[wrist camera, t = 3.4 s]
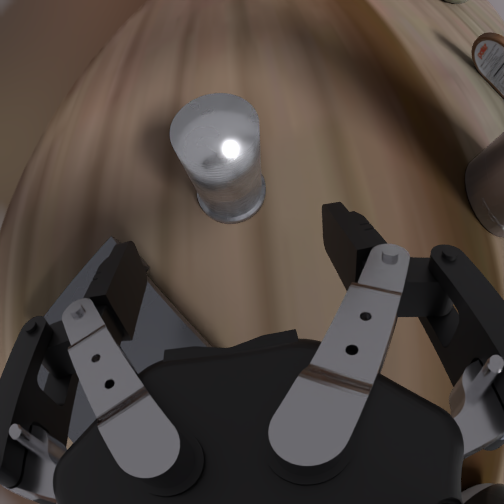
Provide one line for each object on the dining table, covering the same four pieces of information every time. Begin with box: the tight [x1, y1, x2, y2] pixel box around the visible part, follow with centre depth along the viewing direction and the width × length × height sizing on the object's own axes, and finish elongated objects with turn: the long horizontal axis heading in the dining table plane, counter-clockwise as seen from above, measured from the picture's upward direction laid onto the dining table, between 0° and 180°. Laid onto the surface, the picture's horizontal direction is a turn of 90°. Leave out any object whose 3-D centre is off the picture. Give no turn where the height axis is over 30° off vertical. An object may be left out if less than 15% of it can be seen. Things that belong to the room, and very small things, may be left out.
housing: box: [170, 93, 266, 224], centre depth 20 cm, size 6×6×10 cm
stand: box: [37, 237, 212, 443], centre depth 20 cm, size 14×14×5 cm
